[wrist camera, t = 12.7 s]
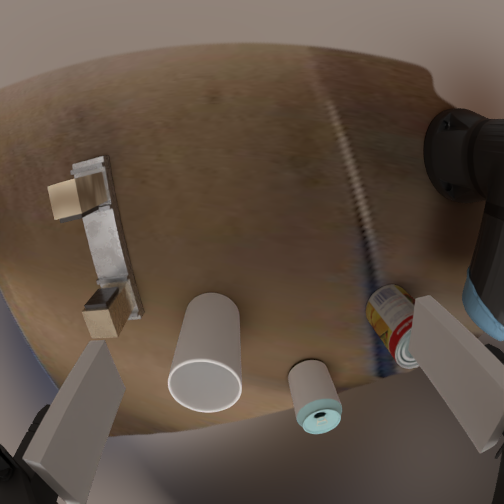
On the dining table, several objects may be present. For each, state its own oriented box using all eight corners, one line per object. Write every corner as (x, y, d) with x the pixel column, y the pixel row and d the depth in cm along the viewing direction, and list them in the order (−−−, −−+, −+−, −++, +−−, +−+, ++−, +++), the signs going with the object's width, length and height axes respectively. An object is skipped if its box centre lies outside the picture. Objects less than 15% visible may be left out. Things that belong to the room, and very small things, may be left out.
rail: (108, 155, 39) (75, 159, 29) (144, 312, 47) (126, 349, 37) (78, 163, 39) (41, 170, 29) (116, 314, 47) (94, 350, 37)
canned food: (379, 334, 50) (408, 377, 39) (356, 306, 48) (386, 349, 37) (413, 305, 49) (449, 342, 37) (393, 274, 47) (432, 310, 35)
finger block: (77, 178, 38) (47, 186, 30) (102, 171, 38) (74, 178, 30) (84, 210, 39) (56, 224, 32) (108, 205, 39) (83, 218, 32)
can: (279, 378, 52) (288, 429, 41) (305, 351, 50) (321, 401, 39) (309, 392, 54) (322, 441, 42) (334, 367, 52) (354, 415, 41)
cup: (174, 315, 47) (153, 385, 32) (211, 281, 45) (201, 346, 30) (213, 347, 49) (207, 421, 34) (250, 317, 48) (257, 388, 32)
